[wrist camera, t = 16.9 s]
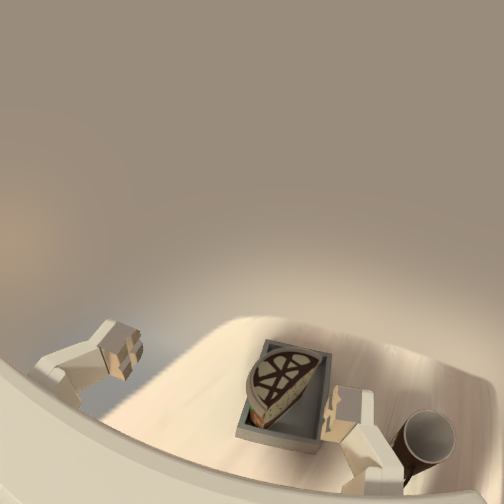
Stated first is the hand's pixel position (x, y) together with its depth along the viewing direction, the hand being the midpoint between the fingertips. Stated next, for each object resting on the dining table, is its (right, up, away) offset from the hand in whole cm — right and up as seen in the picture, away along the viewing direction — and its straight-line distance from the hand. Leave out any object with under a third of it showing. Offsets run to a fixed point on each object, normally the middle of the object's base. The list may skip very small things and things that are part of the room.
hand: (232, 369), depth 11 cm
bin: (+6, -19, +33) cm, 38 cm away
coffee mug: (+21, -28, +22) cm, 41 cm away
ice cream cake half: (+3, -18, +31) cm, 36 cm away
